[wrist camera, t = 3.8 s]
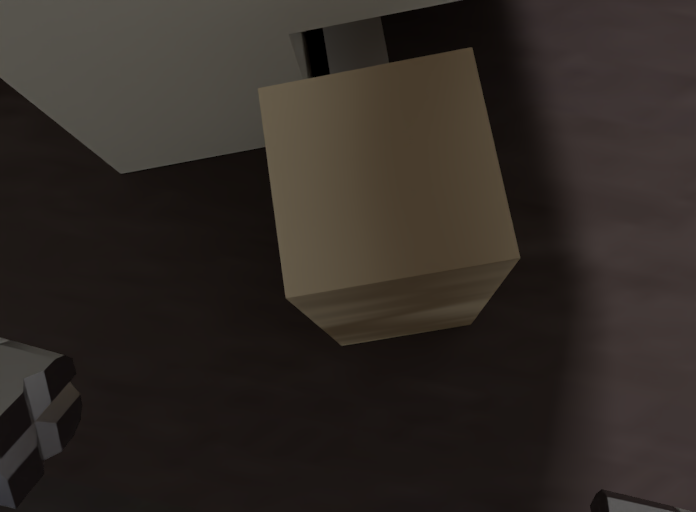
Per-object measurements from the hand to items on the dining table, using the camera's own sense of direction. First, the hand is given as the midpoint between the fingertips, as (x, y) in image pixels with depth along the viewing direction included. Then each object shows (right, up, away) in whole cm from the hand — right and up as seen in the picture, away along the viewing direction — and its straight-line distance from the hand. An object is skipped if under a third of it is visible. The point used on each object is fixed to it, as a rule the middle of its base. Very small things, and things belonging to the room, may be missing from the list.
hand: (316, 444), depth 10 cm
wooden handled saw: (+1, +10, +12) cm, 16 cm away
